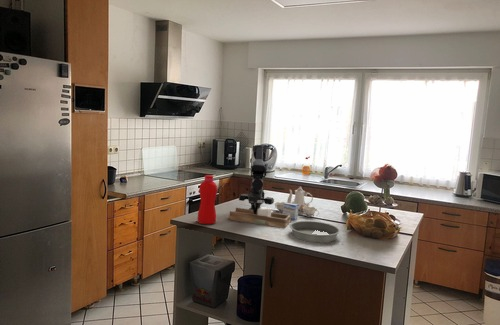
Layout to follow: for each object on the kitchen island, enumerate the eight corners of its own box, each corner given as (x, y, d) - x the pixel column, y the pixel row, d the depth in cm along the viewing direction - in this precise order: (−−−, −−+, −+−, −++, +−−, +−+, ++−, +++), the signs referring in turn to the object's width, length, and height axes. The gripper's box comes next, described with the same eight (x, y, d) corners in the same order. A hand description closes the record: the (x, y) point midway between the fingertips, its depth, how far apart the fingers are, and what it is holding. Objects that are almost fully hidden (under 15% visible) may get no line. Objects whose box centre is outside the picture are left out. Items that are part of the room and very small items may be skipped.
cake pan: (305, 226, 209) (306, 218, 209) (347, 237, 194) (348, 228, 194) (279, 235, 190) (279, 226, 190) (323, 248, 175) (324, 238, 175)
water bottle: (213, 219, 211) (216, 173, 208) (216, 224, 200) (219, 177, 197) (196, 219, 209) (199, 173, 206) (198, 224, 198) (200, 176, 195)
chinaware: (271, 215, 235) (272, 188, 231) (278, 207, 250) (279, 182, 247) (317, 222, 226) (318, 194, 222) (322, 213, 241) (323, 187, 237)
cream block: (260, 215, 217) (261, 206, 216) (270, 217, 215) (271, 208, 214) (257, 218, 211) (257, 209, 211) (267, 219, 209) (268, 210, 209)
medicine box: (282, 218, 223) (283, 203, 222) (285, 216, 227) (286, 202, 226) (295, 220, 219) (296, 205, 218) (297, 218, 223) (299, 204, 222)
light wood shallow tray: (236, 213, 226) (237, 207, 225) (290, 221, 216) (291, 214, 216) (228, 219, 213) (228, 212, 212) (285, 227, 203) (285, 220, 202)
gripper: (236, 186, 208) (234, 215, 210) (269, 190, 202) (267, 220, 204) (243, 183, 219) (241, 210, 220) (275, 187, 213) (272, 215, 215)
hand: (255, 214), depth 215 cm, fingers closed
